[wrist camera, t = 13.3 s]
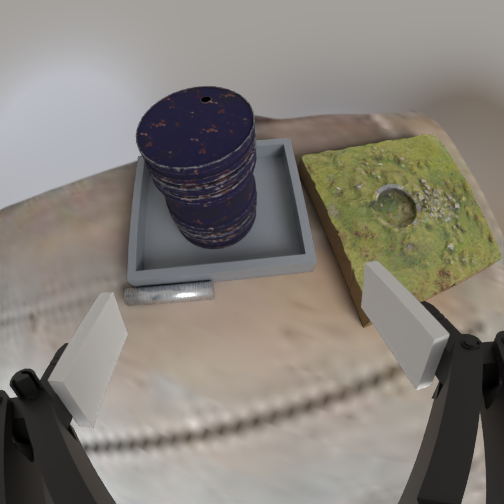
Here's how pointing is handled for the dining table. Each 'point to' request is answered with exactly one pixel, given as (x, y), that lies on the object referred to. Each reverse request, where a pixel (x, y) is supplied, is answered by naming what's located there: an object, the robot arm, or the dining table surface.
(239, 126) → the storage jar
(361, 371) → the dining table surface
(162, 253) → the tray
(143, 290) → the rod
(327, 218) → the miniature landscape model
